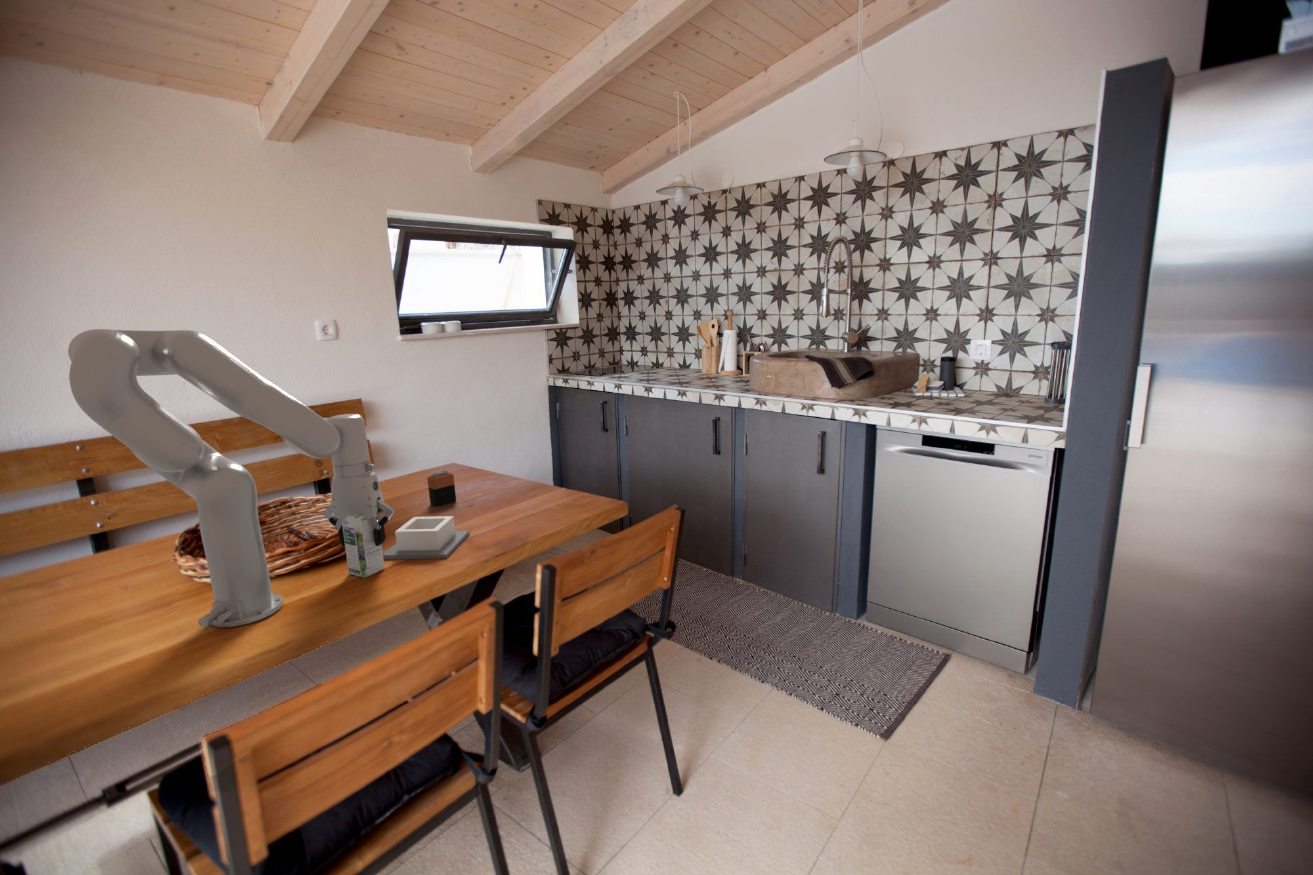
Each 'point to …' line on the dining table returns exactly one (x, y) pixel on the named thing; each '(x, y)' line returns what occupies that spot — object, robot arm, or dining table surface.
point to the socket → (426, 539)
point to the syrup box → (361, 547)
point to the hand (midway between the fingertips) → (363, 543)
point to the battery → (441, 488)
